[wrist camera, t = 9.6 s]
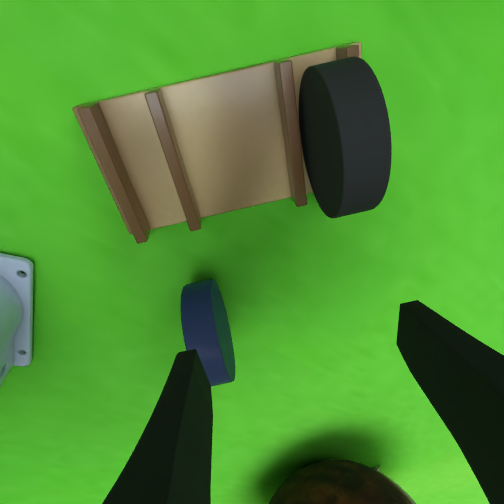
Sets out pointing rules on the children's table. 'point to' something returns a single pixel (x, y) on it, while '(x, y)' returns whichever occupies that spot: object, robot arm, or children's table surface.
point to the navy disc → (208, 330)
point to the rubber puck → (344, 136)
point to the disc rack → (204, 143)
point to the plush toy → (339, 485)
